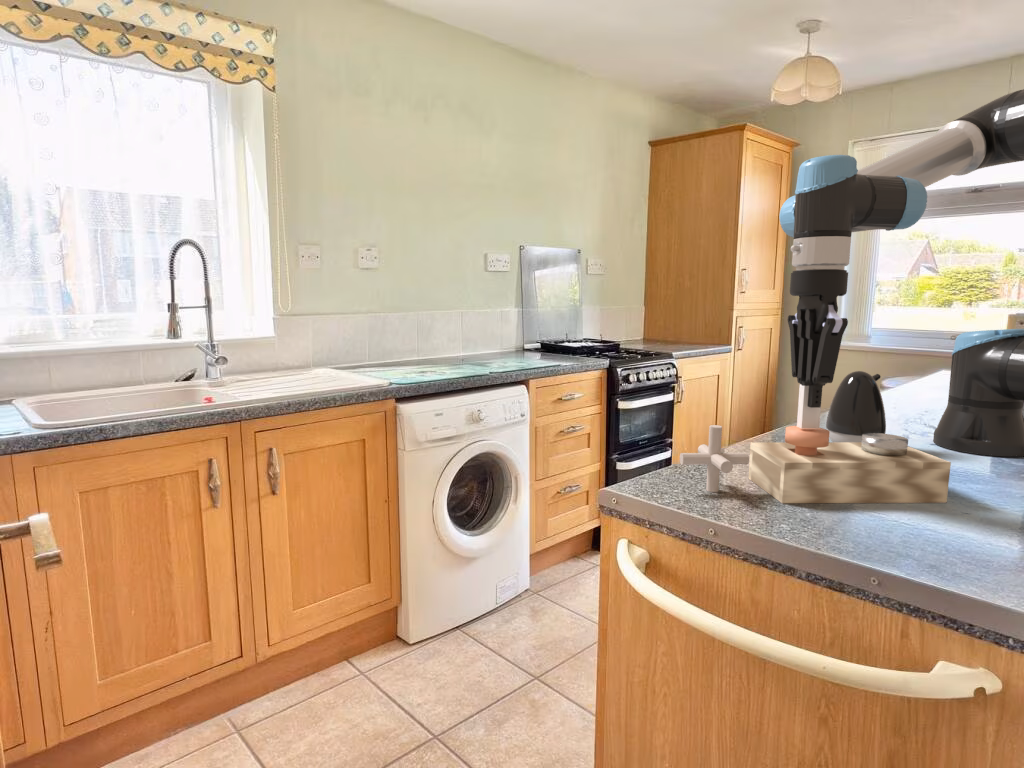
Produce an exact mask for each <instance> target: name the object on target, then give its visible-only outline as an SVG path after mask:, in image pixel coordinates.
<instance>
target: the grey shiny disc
mask: <svg viewBox="0 0 1024 768" xmlns="http://www.w3.org/2000/svg"><path fill="white" fill-rule="evenodd" d="M908 446H909V439H908V438H906V437H904V436H900V435H897V434H889V433H885V434H882V433H866V434H863V435H862V444H861V449H863V450H865V451H867V452H871V453H875V454H877V455H905V454H907V448H908Z"/></svg>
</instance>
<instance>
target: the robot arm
mask: <svg viewBox="0 0 1024 768" xmlns="http://www.w3.org/2000/svg"><path fill="white" fill-rule="evenodd" d="M1018 162H1024V88H1023V89H1019V90H1015V91H1012V92H1010V93H1007V94H1005V95H1002V96H999V97H998V98H995V99H994V100H992V101H990V102H988V103H986V104H984V105H981V106H979V107H978V108H976V109H973V110H972V111H970V112H968V113H966V114H963V116H960V117H958V118H957V119H953V120H952V121H950V122H948V123H945V124H944V125H943V126H941V128H939V129H938V131H937V132H936V133H935V135H933V136H930V137H928V138H926V139H924V140H921V141H919V142H918V143H915V144H912V145H911V146H908V147H906V148H904V149H902V150H900V151H898V152H895V153H893V154H890V155H888V156H887V157H884V158H882V159H880V160H878V161H876V162H873V163H871V164H869V165H866V166H864V167H862V168H860V169H858V167H857V166H858V165H857V163H858V162H857V159H856V157H854V156H851V155H848V154H829V155H821V156H816V157H812V158H809V159H807V160H805V161H803V162H802V163H801V164H800V165H799V169H798V171H797V172H798V173H797V178H796V179H797V180H796V185H795V191H794V194H795V195H793V196H790V197H789V198H787V199H786V200H785V201H784V203H783V204H782V206H781V208H780V210H779V216H778V217H779V224H780V227H781V229H782V231H783V232H784V233H785V234H786V235H787V236H788V237H790V238H792V239H793V243H792V245H791V247H790V252H792V259H791V266H792V267H794V268H795V270H792V272H791V273H790V280H789V281H790V283H789V294H790V295H791V296H793V297H799V298H798V301H797V302H798V303H797V306H796V313H795V314H793V315H791V314H790V315H788V316H787V323H788V327H789V338H790V339H789V340H790V341H789V342H790V357H791V359H790V361H791V362H790V363H791V364H790V365H791V376H792V378H796V380H797V383H798V384H799V389H798V404H797V418H796V419H797V420H796V426H797V427H799V428H801V429H804V428H820V424H821V412H822V411H821V410H822V398H823V397H822V396H823V386H824V387H825V385H827V384H832V383H833V381H834V376H835V372H836V367H837V364H838V363H837V362H838V358H839V354H840V349H841V345H842V341H843V337H844V336H843V335H844V333H845V331H846V328H847V327H848V323H849V320H848V318H847V317H840V316H839V314H838V312H839V311H838V310H839V306H838V297H843V296H845V295H846V294H847V292H848V280H849V272H848V270H846V269H845V267H847V266H849V265H850V256H851V243H852V233H856V232H867V231H874V230H875V231H876V230H885V231H888V232H889V231H894V230H905V229H908V228H910V227H912V226H914V225H915V224H916V223H918V222H919V221H920V220H921V218H922V217H923V215H924V214H925V212H926V209H927V203H928V192H927V189H926V188H927V187H929V186H931V185H933V184H935V183H937V182H940V181H942V180H944V179H946V178H948V177H950V176H955V177H956V176H959V177H960V176H965V175H968V174H971V173H972V172H975V171H977V170H980V169H984V168H989V167H995V166H999V165H1005V164H1011V163H1018ZM949 375H950V377H949V388H948V400H947V405H946V408H945V410H944V411H943V414H942V416H941V418H940V420H939V422H938V424H937V427H936V428H935V429H934V432H933V440H932V442H933V443H934V444H935V445H937V446H940V447H942V448H945V449H949V450H952V451H958V452H961V453H962V452H963V453H968V454H975V455H983V456H992V457H1023V456H1024V414H1023V409H1024V407H1023V406H1024V328H1010V329H1009V328H1007V329H1006V328H1005V329H990V330H989V329H988V330H987V329H986V330H975V331H974V330H973V331H965V332H962V333H959V335H957V336H956V338H955V340H954V345H953V351H952V352H951V367H950V374H949Z"/></svg>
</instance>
